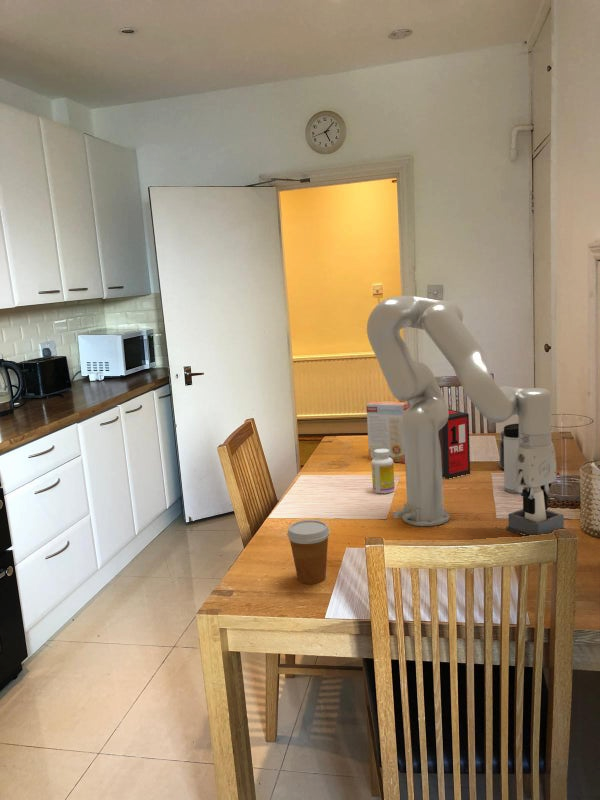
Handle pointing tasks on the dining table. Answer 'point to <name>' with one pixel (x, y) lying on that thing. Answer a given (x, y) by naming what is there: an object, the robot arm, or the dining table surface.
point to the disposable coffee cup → (309, 549)
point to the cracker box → (386, 428)
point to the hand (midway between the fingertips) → (535, 509)
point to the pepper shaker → (537, 506)
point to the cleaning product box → (455, 445)
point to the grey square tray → (535, 523)
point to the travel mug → (510, 456)
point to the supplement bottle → (382, 472)
